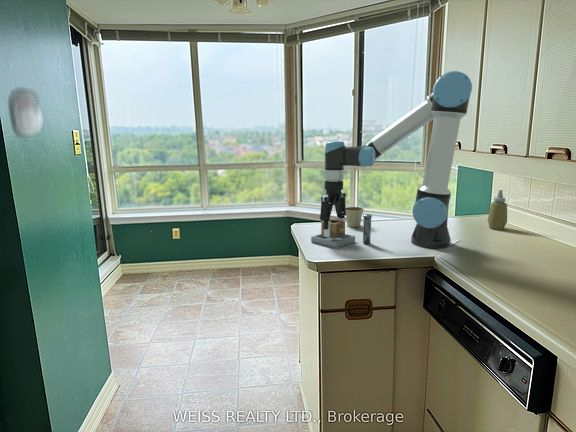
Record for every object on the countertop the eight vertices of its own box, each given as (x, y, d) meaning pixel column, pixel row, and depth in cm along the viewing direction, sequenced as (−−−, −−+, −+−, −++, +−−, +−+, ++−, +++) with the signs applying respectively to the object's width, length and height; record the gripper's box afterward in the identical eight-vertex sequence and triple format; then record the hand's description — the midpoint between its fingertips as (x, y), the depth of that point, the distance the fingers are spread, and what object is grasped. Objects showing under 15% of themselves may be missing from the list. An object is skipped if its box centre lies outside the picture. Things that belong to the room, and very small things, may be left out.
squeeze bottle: (483, 228, 181) (487, 190, 177) (490, 225, 186) (494, 188, 182) (502, 231, 175) (506, 192, 171) (509, 228, 180) (513, 190, 176)
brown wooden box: (348, 235, 160) (348, 221, 159) (337, 239, 155) (338, 225, 154) (331, 232, 166) (331, 218, 165) (321, 235, 161) (321, 221, 160)
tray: (355, 241, 162) (355, 235, 162) (336, 248, 153) (336, 242, 152) (330, 236, 171) (330, 230, 170) (311, 242, 162) (311, 236, 161)
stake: (372, 243, 159) (373, 215, 157) (367, 245, 157) (368, 216, 154) (365, 241, 162) (366, 213, 159) (360, 243, 159) (361, 215, 157)
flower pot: (344, 228, 184) (345, 210, 182) (342, 223, 193) (343, 206, 191) (364, 228, 183) (365, 210, 181) (361, 223, 193) (362, 206, 191)
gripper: (341, 177, 166) (340, 228, 171) (310, 181, 152) (310, 238, 157) (355, 178, 161) (354, 231, 166) (325, 183, 147) (324, 241, 152)
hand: (332, 234), depth 161 cm, fingers closed on brown wooden box, 7 cm apart
